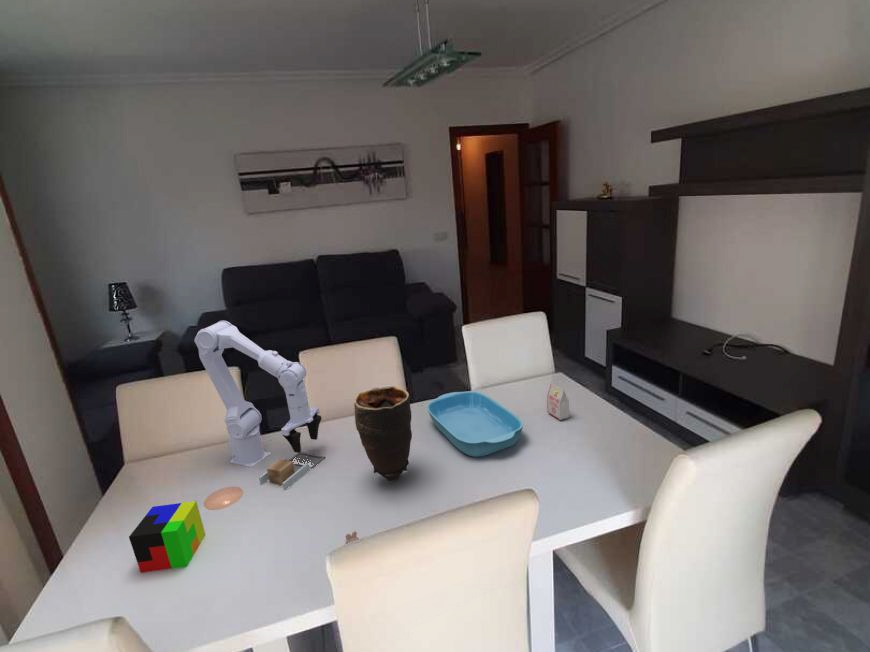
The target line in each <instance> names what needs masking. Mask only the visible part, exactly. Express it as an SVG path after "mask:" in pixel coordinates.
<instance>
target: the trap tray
mask: <svg viewBox="0 0 870 652" xmlns="http://www.w3.org/2000/svg"><path fill="white" fill-rule="evenodd" d="M301 454H303V455H301ZM307 455H308V456H307ZM306 456H307V457H306ZM295 457H296V458H295ZM317 457H318V458H317ZM294 458H295V459H296V460H297V462H298V460H299V462H300V463H303V462H304V464H305V462H306V461H307V463H309V462H311V465H313V464H314V465H313V466H312V467H311V468H310V469H312V468H313V469H314V468H315V467H317V466H318V465H319V464H320V463H322V462H323V461H324V460H325V459H326V456H323V455H319V454H315V453H314V454H313V453H308V452H302V451H301V452H300V453H297V452H296V454H295V455H294V456H292V457H290V459H288V460H287V461H293V459H294ZM297 458H298V459H297ZM299 458H300V459H299ZM303 459H304V460H305V461H304V460H303ZM307 459H308V460H307ZM310 460H311V461H310ZM322 460H323V461H322ZM294 461H295V460H294ZM302 461H303V462H302ZM308 461H309V462H308ZM293 463H294V462H293ZM312 463H313V464H312ZM298 464H299V463H298ZM317 464H318V465H317ZM316 465H317V466H316Z"/></svg>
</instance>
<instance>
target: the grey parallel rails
mask: <svg viewBox="0 0 870 652" xmlns="http://www.w3.org/2000/svg"><path fill="white" fill-rule="evenodd" d="M283 460H287V459H286V458H283ZM307 471H308V472H309V471H310V467H309V465H308V463H306V464H305V465H304V466H301V467H300V468H298V470H295V473H294V474H293V475H292V476H290V477H289V478H288V479H287V480H286V481H284V482H283V483H282V484H283V486H282V488H283V491H285V490H286V489H287V488H288V487H289V486H290V487H292V486H293V485H294V484H295V483H296V482H298V481H299V480H300V479H301V478H302V477H304V476H305V475H306V474H307V473H308V472H307ZM306 472H307V473H306ZM305 473H306V474H305ZM304 474H305V475H304ZM300 477H301V478H300ZM299 478H300V479H299ZM258 479H259V480H258V481H259V484H261V486H262V484H263V485H264V484H265V483H267V482H268V481H269V476H268V472H267V471H266V472H264V473H263V474H261V475H260V476H259V477H258ZM298 479H299V480H298ZM267 480H268V481H267ZM294 482H295V483H294ZM293 483H294V484H293ZM292 484H293V485H292ZM290 487H289V488H290ZM289 488H288V489H289ZM288 489H287V490H288ZM287 490H286V491H287Z"/></svg>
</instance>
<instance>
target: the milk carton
mask: <svg viewBox="0 0 870 652" xmlns="http://www.w3.org/2000/svg"><path fill="white" fill-rule="evenodd" d="M546 402H547V403H546V405H547V406H546V409H547V411H546V412H547V413H548V414H550V415H551V416H553V417H554V418H556V419H558V420H559V421H561V420H565V419H568V418H570V400H569V398H568V396H567V394H566V392H565V389H562V388H561V387H559V386H557V385H556V384H554V383H550V386H549V388H548V392H547V394H546Z"/></svg>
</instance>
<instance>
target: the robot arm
mask: <svg viewBox="0 0 870 652" xmlns="http://www.w3.org/2000/svg"><path fill="white" fill-rule="evenodd" d="M193 341H194V343H195V345H196V347H197V349H198V355H199V356H198V357H199V359H200V362H201V363H202V366H203V367H204V369H205V371H206V373H207V375H208V376H209V379H210V380H211V383H213V386H214V388H215V390H216V391H217V393H218V396H219V398H220V399H221V401H222V403H223V405H224V406H225V408H226V411H225V416H224V423H225V425H226V431H227V433H228V435H229V439H228V446H229V450H230V456H231V460H230V461H229V462H230V463H231V464H235V465H240V466H245V467H248V468H253V467H255V466H256V465H258V464H259V463H261V462H262V461H263V460H264V458H265V457H266V458H267V457H269V456H270V455H271V454H272V453H271V452H269V451H265V450H264V446H263V441H262V435H261V433H260V424H261V422H262V421H263V420H262V419H263V418H262V414H261V412H260V411H259V410H258V409H257V408H256V407H255V406H254V404H253V403H252V402H250V401H247V400H245V399H244V396H243V394H242V393H241V391H240V389H239V387H238V385H237V383H236V381H235V379H234V377H233V375H232V374H231V371H230V369H229V367H228V365H227V364H226V362H225V359H224V358H223V356H222V354H223V353H224V351H225V349H229V348H230V349H231V348H233V349H235V350H236V351H239V352H241V353H242V354H244V355H247V356H248V357H250V358H252V359H254V360H256V361H257V363H258V367H259V368H261V369H262V370H264V371H265V372H267V373H268V374H270V375H271V376H274V377H275V378H277V380H278V383H279V384H280V386H281V387H282V388H283V390H284V393H285V397H286V403H287V407H288V412H289V413H288V414H289V417H290V419H289V420H288V421H287V422H286V424H285V425H284V426H283V427H282V428H281V434H282V437H284V439H285V440H286V441H288V443H289V444H290V447H291V448H292V450H293V452H294V453H296V454H297V453H300V452H302V446H301V434H302V432H300V431H297V430H296V429H297V428H298V427H300V426H302V425H306V427H307V430H308V435H309V438H310V440H315V441H316V440H317V439H318V437H319V428H320V424H321V421H322V415H319V414H320V413H321V411H320V407H319V406H318V407H317V406H313V407H311V408H310V406H309V400H308V394H307V389H306V384H305V378H306V376H307V370H306V367H304V365H303V364H301V362H298V361H295V362H294V361H291V360H287V359H286V358H284V357H283V356H281V355H280V354H279V352H278V351H276V350H271V349H268V350H265V349H263V348H262V347H260V346H259V345H258V344H257V343H255V342H254V341H252V340H250V339H249V338H248V337H246V335H244V334H243V333H241V332H240V331H239V329H238V327H237V326H235V325H233V324H232V323H231V322H229V321H227V320H219V321H218V322H216V323H214V324H211V325H210V326H207V327H205V328H201V329H200V330H198V332H197V334H196V336H195V337H194V340H193ZM268 455H269V456H268ZM266 458H265V459H266ZM261 460H262V461H261ZM257 463H258V464H257Z"/></svg>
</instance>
